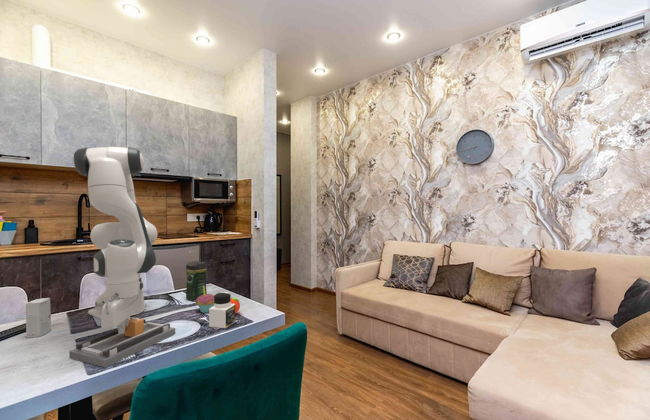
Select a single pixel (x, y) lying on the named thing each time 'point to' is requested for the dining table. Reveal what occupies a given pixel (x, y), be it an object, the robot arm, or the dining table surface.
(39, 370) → the dining table surface
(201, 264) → the coffee jar
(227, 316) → the medicine bottle
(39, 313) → the skincare box
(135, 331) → the block
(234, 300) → the clementine
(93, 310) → the robot arm
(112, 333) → the pair of dark pieces
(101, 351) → the panel
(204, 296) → the cupcake
